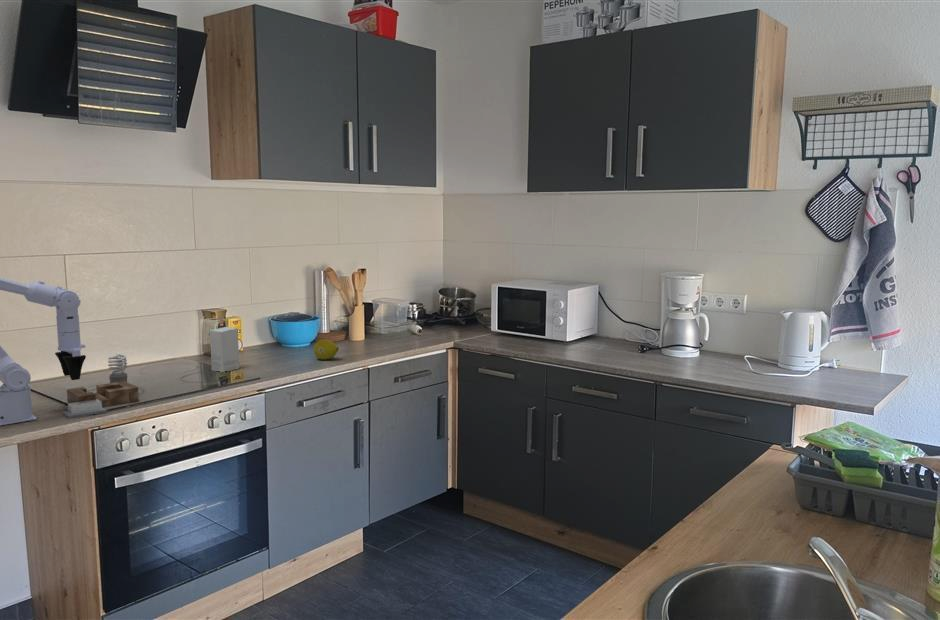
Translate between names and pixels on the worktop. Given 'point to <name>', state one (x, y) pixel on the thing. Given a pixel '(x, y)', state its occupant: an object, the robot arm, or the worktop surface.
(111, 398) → the pocket board
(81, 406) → the aluminium tile
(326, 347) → the lemon
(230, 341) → the skincare box
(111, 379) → the light bulb
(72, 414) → the slate mat
